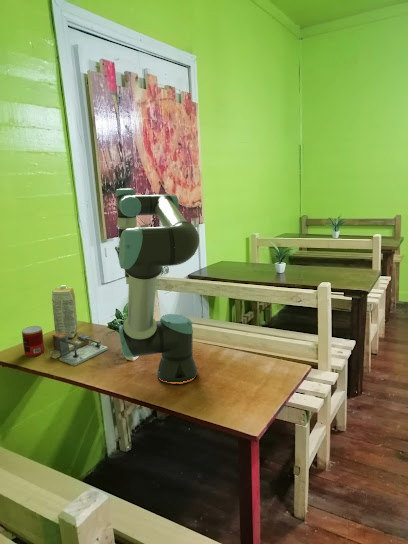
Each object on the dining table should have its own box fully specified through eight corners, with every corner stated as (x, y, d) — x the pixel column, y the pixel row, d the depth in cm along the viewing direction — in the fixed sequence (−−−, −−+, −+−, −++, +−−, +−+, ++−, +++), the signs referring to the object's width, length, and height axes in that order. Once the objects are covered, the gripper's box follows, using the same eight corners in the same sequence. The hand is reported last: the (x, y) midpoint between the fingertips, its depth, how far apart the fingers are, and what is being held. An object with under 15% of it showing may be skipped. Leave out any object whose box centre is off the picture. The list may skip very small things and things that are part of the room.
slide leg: (82, 357, 166) (81, 338, 164) (74, 361, 163) (72, 341, 161) (62, 349, 173) (60, 331, 171) (53, 353, 170) (52, 334, 168)
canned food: (47, 349, 174) (45, 325, 171) (38, 357, 166) (35, 333, 164) (30, 348, 175) (28, 325, 172) (21, 357, 167) (18, 332, 164)
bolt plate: (108, 349, 174) (107, 346, 174) (74, 366, 159) (74, 363, 159) (93, 344, 179) (93, 341, 179) (59, 360, 164) (59, 357, 164)
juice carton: (79, 331, 193) (75, 283, 187) (75, 338, 185) (70, 288, 179) (59, 332, 192) (54, 284, 186) (54, 339, 185) (49, 289, 179)
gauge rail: (103, 347, 176) (102, 340, 175) (69, 364, 161) (68, 355, 160) (83, 341, 182) (82, 333, 182) (49, 356, 168) (48, 348, 167)
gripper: (131, 225, 169) (133, 279, 175) (108, 228, 158) (112, 286, 164) (145, 226, 165) (147, 281, 171) (122, 230, 155) (125, 289, 160)
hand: (129, 283), depth 168 cm, fingers closed
